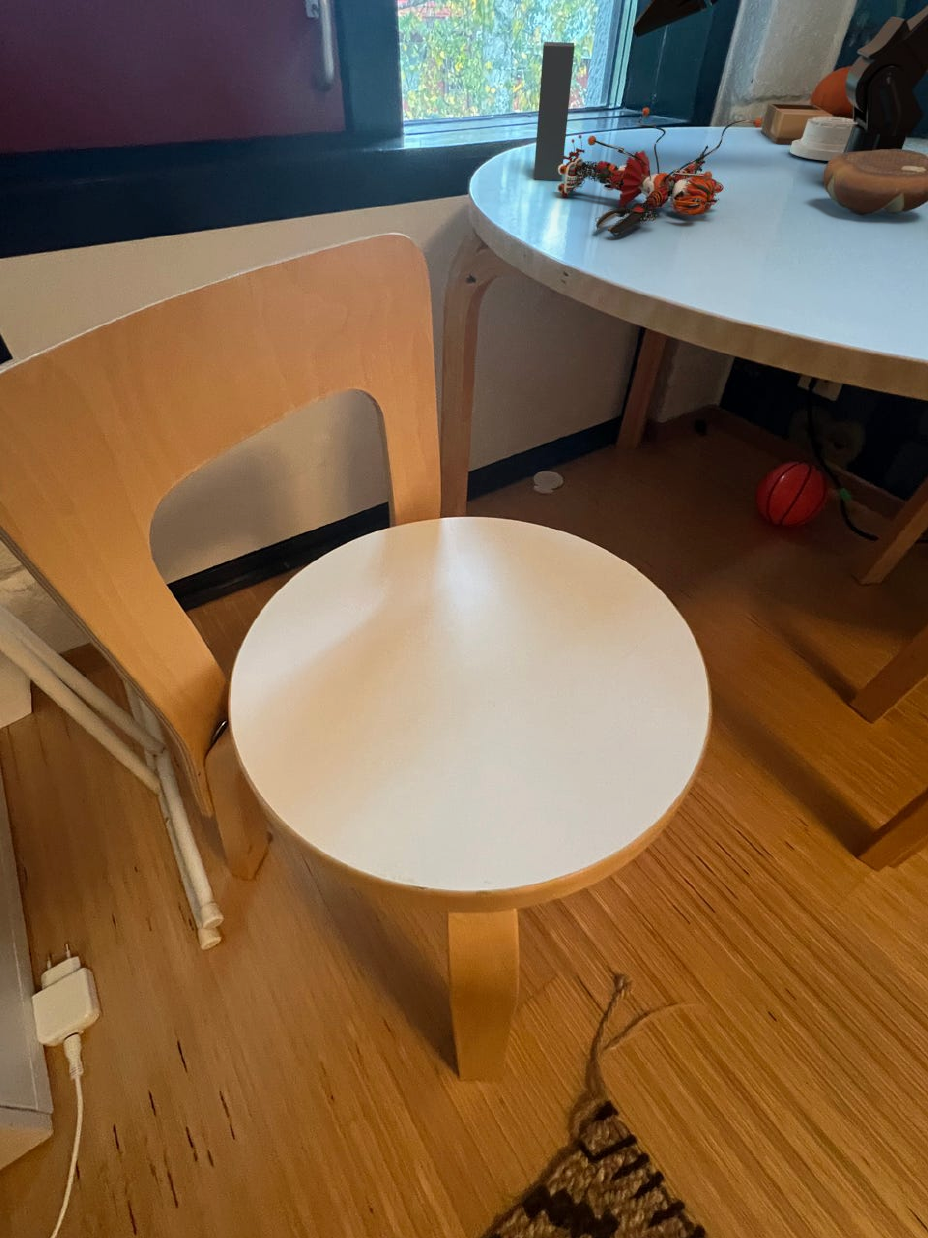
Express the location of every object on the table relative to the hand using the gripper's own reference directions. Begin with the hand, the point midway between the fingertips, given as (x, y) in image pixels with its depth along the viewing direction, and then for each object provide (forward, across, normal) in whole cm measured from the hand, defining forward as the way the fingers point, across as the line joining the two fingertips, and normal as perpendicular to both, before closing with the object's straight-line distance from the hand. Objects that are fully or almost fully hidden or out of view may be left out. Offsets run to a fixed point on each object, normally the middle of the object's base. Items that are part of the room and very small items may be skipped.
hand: (635, 29), depth 80 cm
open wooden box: (-10, -34, +28) cm, 45 cm away
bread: (-16, +12, +26) cm, 33 cm away
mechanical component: (-12, -20, +30) cm, 38 cm away
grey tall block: (+16, +4, +5) cm, 17 cm away
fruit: (-17, -51, +34) cm, 63 cm away
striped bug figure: (+12, +14, +3) cm, 18 cm away
